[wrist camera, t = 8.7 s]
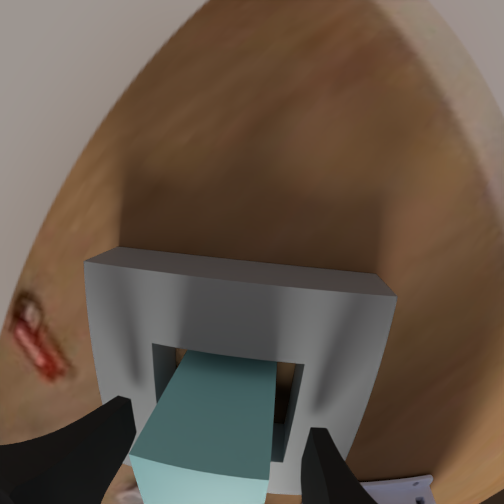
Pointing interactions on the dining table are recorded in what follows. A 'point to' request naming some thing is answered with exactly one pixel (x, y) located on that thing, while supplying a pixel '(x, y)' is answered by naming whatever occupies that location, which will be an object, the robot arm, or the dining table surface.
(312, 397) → the socket block
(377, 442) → the dining table surface
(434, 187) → the dining table surface
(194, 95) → the dining table surface
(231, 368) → the peg
